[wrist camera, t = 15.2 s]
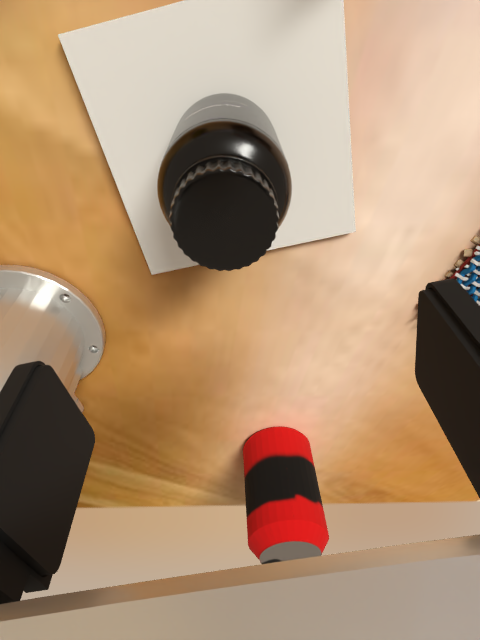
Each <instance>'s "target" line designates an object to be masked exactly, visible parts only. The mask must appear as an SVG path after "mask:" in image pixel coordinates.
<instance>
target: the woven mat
mask: <svg viewBox="0 0 480 640" xmlns="http://www.w3.org/2000/svg"><path fill="white" fill-rule="evenodd" d="M471 242H473V243H474V244H476V245H478V246H476V249H475V250H473V249H471V248H469V249H466V250H464V256H466V257H468V258H467V259H466V260H465V262H464V261H463V260H461V259H459V260H458V261H457V262H456V263H455V264H454V265H455V266H456V267H458V268H456V270H457V271H456V272H455V273H454V272H451V271H448V273H447V274H446V275H445V276H447V277H449V279H451V278H453V279H455V280H457V281H458V282H459V284H460V285H461V286H462V287H463V288H464V289H465V290H466V291H467V290H468V291H467V292H468V294H469V295H470V296H471V297H472V298H473V299H474V300H475V301H476V302H477V304H478V305H479V306H480V298H479V296H480V237H478V236H476V235H475V236H474V237H473V239H472V240H471ZM476 266H478V267H476ZM467 276H469V277H470V278H468V277H467Z"/></svg>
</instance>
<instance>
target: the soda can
mask: <svg viewBox="0 0 480 640" xmlns="http://www.w3.org/2000/svg"><path fill="white" fill-rule="evenodd" d="M243 459H244V477H245V495H246V513H247V531H248V546H249V548H250V550H251V551H252V552H253V553H254V554H255V555H256V557H257V558H258V559H259V560H260V562H261V563H262V564H268V563H275V562H282V561H288V560H296V559H303V558H310V557H317V556H321V555H322V552H323V550H324V548H325V546H326V544H327V542H328V540H329V535H328V530H327V525H326V520H325V515H324V511H323V506H322V501H321V496H320V491H319V487H318V482H317V477H316V472H315V468H314V463H313V458H312V453H311V448H310V444H309V441H308V439H307V438H306V437H305V436H304V435H303V434H302V433H300V432H299V431H297V430H295V429H292V428H288V427H270V428H266V429H263V430H260V431H258V432H256V433H255V434H254V435H252V436H251V437H250V438H249V439H248V440H247V441H246V443H245V445H244V448H243Z"/></svg>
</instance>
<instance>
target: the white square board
mask: <svg viewBox="0 0 480 640" xmlns="http://www.w3.org/2000/svg"><path fill="white" fill-rule="evenodd" d="M58 37H59V39H60V42H61V44H62V47H63V49H64V52H65V54H66V57H67V60H68V62H69V65H70V67H71V70H72V72H73V75H74V77H75V80H76V83H77V85H78V88H79V90H80V93H81V95H82V98H83V100H84V103H85V106H86V108H87V111H88V113H89V116H90V118H91V121H92V123H93V126H94V129H95V131H96V134H97V136H98V139H99V141H100V144H101V146H102V149H103V152H104V154H105V157H106V159H107V162H108V164H109V167H110V169H111V172H112V175H113V177H114V180H115V182H116V185H117V187H118V190H119V192H120V195H121V198H122V200H123V203H124V205H125V208H126V210H127V213H128V215H129V218H130V221H131V223H132V226H133V228H134V231H135V233H136V236H137V238H138V241H139V244H140V246H141V249H142V251H143V254H144V256H145V259H146V261H147V264H148V267H149V269H150V272H151V274H152V275H153V274H158V273H163V272H167V271H172V270H177V269H182V268H186V267H191V266H196V265H199V264H198V263H197V262H194V261H192V260H191V259H190V257H188V256H186V255H185V254H184V253H183V250H182V249H180V248H179V247H178V244H177V241H176V240H175V239H174V238H173V232H172V230H171V228H170V225H169V224H168V222H167V221H166V219H165V217H164V215H163V213H162V210H161V207H160V204H159V200H158V193H157V180H158V173H159V169H160V165H161V162H162V159H163V157H164V154H165V152H166V150H167V147H168V145H169V143H170V140H171V138H172V136H173V133H174V131H175V129H176V126H177V124H178V123H179V121H180V119H181V117H182V116H183V114H184V113H185V112H186V111H187V110H188V109H189V108H190V107H191V106H192V105H193V104H194V103H196V102H197V101H199V100H200V99H202V98H204V97H207V96H210V95H214V94H219V93H229V94H236V95H239V96H242V97H245V98H247V99H249V100H250V101H252V102H254V103H255V104H256V105H257V106H259V107H260V108H261V109H262V110H263V111H264V112H265V114H266V115H267V116H268V118H269V120H270V121H271V123H272V125H273V127H274V129H275V132H276V134H277V137H278V140H279V142H280V145H281V147H282V150H283V152H284V155H285V158H286V160H287V163H288V166H289V170H290V174H291V180H292V196H291V202H290V206H289V209H288V212H287V215H286V217H285V219H284V221H283V222H282V224H281V226H280V227H279V228H278V230H277V232H276V238H275V239H274V241H272V245H271V247H270V248H269V249H268V250H272V249H277V248H281V247H286V246H291V245H296V244H300V243H305V242H310V241H315V240H319V239H324V238H329V237H334V236H338V235H343V234H348V233H353V232H356V229H355V210H354V191H353V172H352V153H351V134H350V115H349V96H348V77H347V58H346V39H345V20H344V1H343V0H184V1H181V2H177V3H173V4H169V5H166V6H162V7H158V8H155V9H151V10H147V11H144V12H140V13H136V14H132V15H129V16H125V17H121V18H118V19H114V20H110V21H107V22H103V23H99V24H95V25H92V26H88V27H84V28H81V29H77V30H73V31H70V32H66V33H62V34H58Z"/></svg>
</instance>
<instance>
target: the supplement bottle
mask: <svg viewBox="0 0 480 640" xmlns="http://www.w3.org/2000/svg"><path fill="white" fill-rule="evenodd" d="M157 193H158V200H159V204H160V207H161V210H162V213H163V215H164V217H165V219H166V221H167V222H168V224H169V225H170V228H171V230H172V232H173V238H174V239H175V240H176V241H177V244H178V247H179V248H180V249H182V250H183V253H184V254H185V255H186V256H188V257H190V259H191V260H192V261H194V262H197V263H198V264H199V265H200V266H206V267H207V268H209V269H216V270H219V271H222V270H228V271H231V270H233V269H241V268H242V267H245V266H249V265H251V263H253V262H256V261H258V260H259V258H260V257H261V256H263V255H265V253H266V251H267V250H268V249H269V248H270V247H271V245H272V241H274V239H275V238H276V232H277V230H278V228H279V227H280V226H281V224H282V222H283V221H284V219H285V217H286V215H287V212H288V209H289V206H290V202H291V196H292V180H291V174H290V170H289V166H288V163H287V160H286V158H285V155H284V152H283V150H282V147H281V145H280V142H279V140H278V137H277V134H276V132H275V129H274V127H273V125H272V123H271V121H270V120H269V118H268V116H267V115H266V114H265V112H264V111H263V110H262V109H261V108H260V107H259V106H257V105H256V104H255V103H254V102H252V101H250V100H249V99H247V98H245V97H242V96H239V95H236V94H229V93H219V94H214V95H210V96H207V97H204V98H202V99H200V100H199V101H197V102H196V103H194V104H193V105H192V106H191V107H190V108H189V109H188V110H187V111H186V112H185V113H184V114H183V116H182V117H181V119H180V121H179V123H178V124H177V126H176V129H175V131H174V133H173V136H172V138H171V140H170V143H169V145H168V147H167V150H166V152H165V154H164V157H163V159H162V162H161V165H160V169H159V173H158V180H157Z"/></svg>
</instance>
